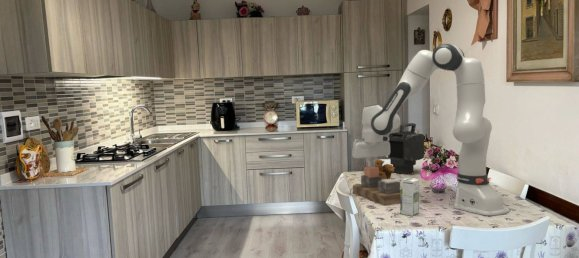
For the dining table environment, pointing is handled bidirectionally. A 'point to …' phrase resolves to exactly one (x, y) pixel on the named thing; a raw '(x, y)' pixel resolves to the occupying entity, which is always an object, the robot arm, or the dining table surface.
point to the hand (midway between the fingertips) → (371, 166)
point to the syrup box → (409, 196)
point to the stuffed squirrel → (384, 169)
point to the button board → (378, 190)
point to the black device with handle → (405, 149)
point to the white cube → (389, 181)
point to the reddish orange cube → (371, 171)
